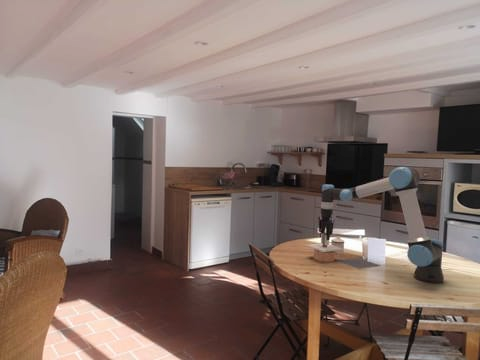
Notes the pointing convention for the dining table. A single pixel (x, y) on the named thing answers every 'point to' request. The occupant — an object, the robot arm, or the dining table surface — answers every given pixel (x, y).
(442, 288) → the dining table surface
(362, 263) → the mat
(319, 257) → the bowl
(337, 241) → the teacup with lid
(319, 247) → the lid
